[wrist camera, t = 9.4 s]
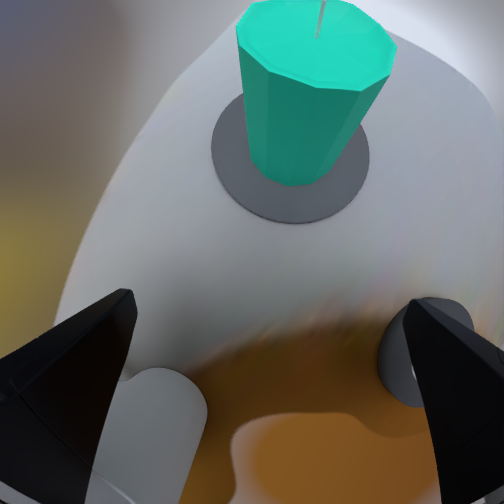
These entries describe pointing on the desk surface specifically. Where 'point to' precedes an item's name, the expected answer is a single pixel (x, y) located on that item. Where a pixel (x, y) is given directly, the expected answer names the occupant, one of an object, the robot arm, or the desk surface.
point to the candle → (308, 82)
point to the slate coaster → (276, 194)
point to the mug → (148, 440)
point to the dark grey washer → (397, 354)
